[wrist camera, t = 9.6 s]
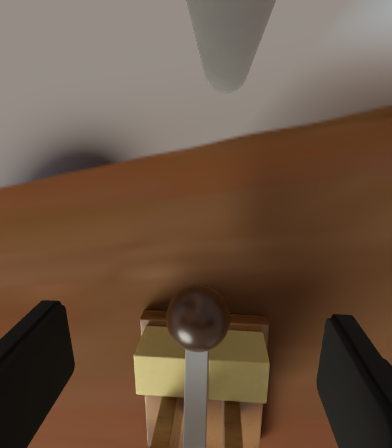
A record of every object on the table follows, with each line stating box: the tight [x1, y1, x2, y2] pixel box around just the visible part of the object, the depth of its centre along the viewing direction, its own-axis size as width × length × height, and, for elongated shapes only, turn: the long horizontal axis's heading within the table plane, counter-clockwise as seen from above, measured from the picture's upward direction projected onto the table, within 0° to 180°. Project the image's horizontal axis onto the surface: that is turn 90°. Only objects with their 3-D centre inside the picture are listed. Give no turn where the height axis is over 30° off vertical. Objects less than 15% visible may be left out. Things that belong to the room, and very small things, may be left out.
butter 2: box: [208, 330, 270, 403], centre depth 19 cm, size 3×4×3 cm
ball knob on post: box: [166, 285, 230, 448], centre depth 14 cm, size 13×3×3 cm, turn 1°
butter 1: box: [134, 326, 185, 398], centre depth 19 cm, size 3×4×3 cm
